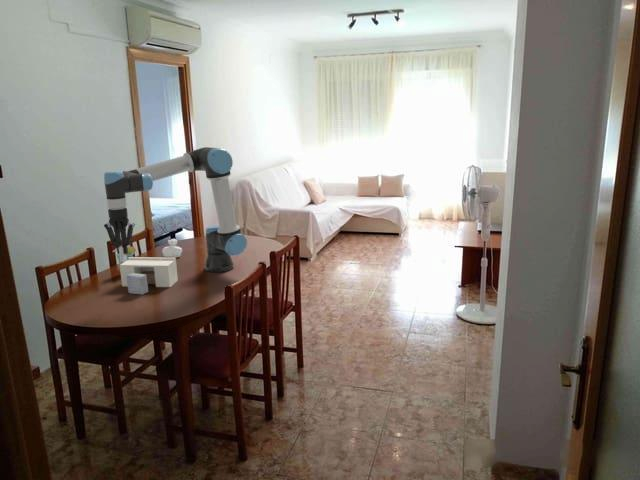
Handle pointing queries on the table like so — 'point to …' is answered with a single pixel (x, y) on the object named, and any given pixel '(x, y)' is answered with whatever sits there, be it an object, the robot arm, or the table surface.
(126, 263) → the console
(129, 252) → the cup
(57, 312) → the table surface
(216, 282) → the table surface
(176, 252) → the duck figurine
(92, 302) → the table surface
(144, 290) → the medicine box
